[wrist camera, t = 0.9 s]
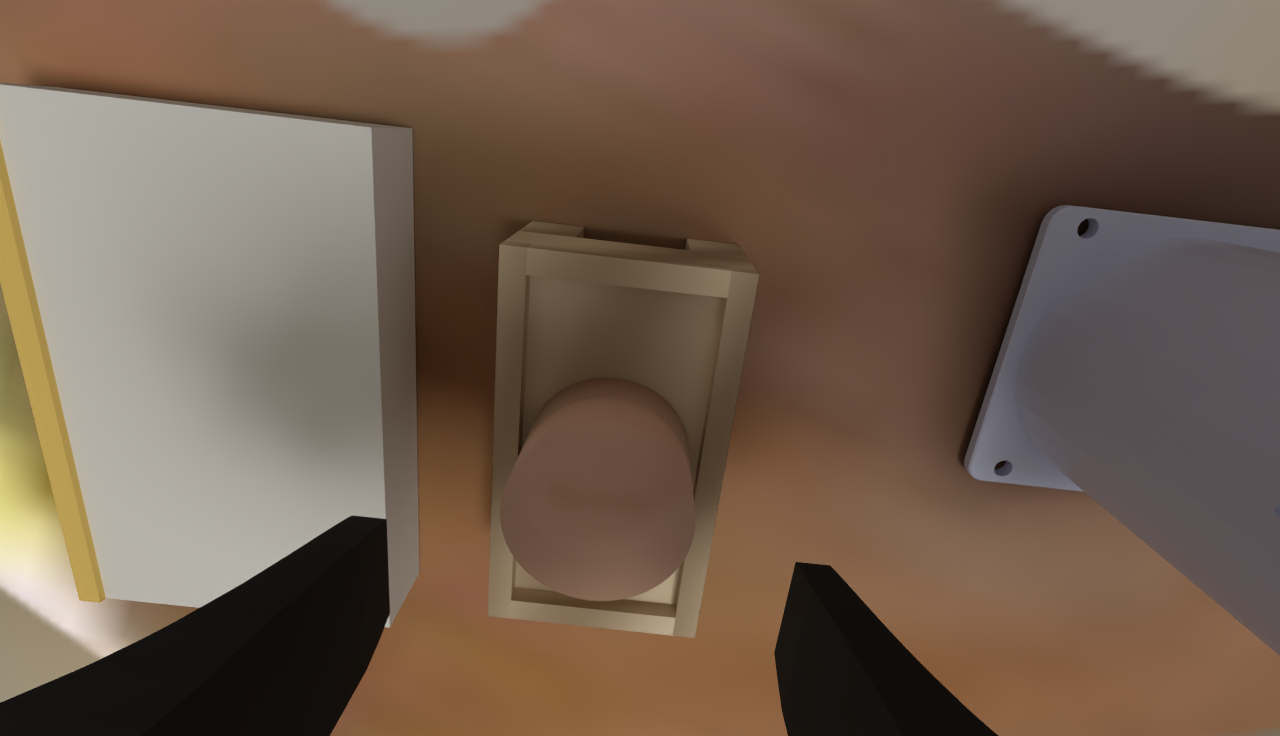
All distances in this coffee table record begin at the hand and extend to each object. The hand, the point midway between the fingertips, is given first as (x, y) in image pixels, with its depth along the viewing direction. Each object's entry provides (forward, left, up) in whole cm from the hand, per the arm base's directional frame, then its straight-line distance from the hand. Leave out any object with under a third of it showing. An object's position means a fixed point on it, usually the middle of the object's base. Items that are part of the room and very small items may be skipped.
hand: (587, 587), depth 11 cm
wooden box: (0, 0, -8) cm, 8 cm away
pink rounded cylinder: (0, 0, -5) cm, 5 cm away
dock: (+10, 0, -8) cm, 13 cm away
